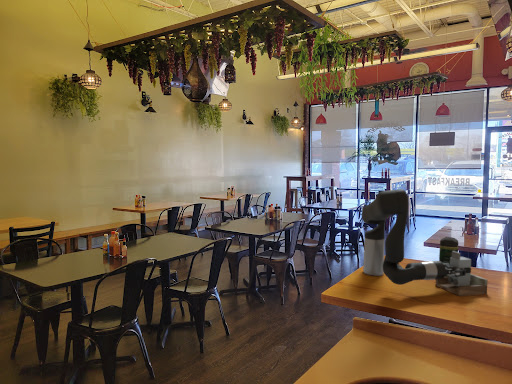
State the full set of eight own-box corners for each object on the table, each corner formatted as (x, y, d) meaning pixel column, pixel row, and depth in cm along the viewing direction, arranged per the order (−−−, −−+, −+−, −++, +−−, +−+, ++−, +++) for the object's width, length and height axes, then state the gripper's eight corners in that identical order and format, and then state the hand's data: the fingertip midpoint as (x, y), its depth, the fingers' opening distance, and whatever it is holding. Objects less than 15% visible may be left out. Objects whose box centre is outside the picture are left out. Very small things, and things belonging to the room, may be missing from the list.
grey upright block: (447, 282, 168) (449, 250, 167) (461, 281, 170) (463, 250, 169) (456, 286, 163) (458, 253, 162) (471, 285, 164) (472, 252, 163)
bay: (435, 285, 172) (435, 271, 172) (461, 283, 175) (461, 270, 175) (459, 296, 158) (460, 281, 158) (486, 293, 161) (487, 279, 161)
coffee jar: (456, 280, 180) (458, 240, 179) (437, 277, 184) (439, 238, 182) (457, 275, 188) (459, 236, 187) (439, 272, 192) (440, 235, 191)
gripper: (442, 266, 155) (479, 264, 159) (420, 257, 169) (453, 255, 173) (441, 284, 156) (478, 282, 160) (419, 274, 170) (453, 272, 174)
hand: (465, 268), depth 166 cm, fingers closed on grey upright block, 5 cm apart
